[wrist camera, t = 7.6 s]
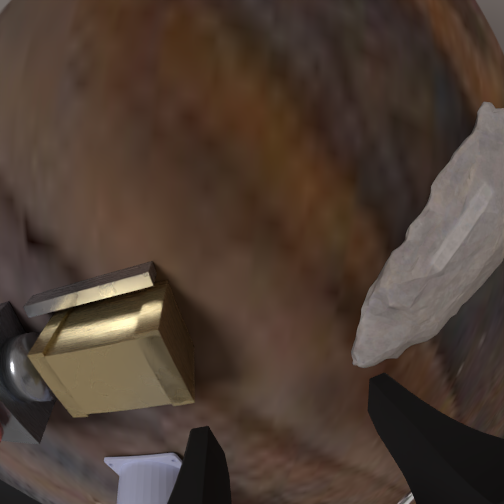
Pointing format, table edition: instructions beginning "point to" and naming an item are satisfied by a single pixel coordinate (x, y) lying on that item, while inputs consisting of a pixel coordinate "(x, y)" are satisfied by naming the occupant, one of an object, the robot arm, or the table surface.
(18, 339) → the valve
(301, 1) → the table surface
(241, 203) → the table surface
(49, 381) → the gold flanged block
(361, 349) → the stone tool
